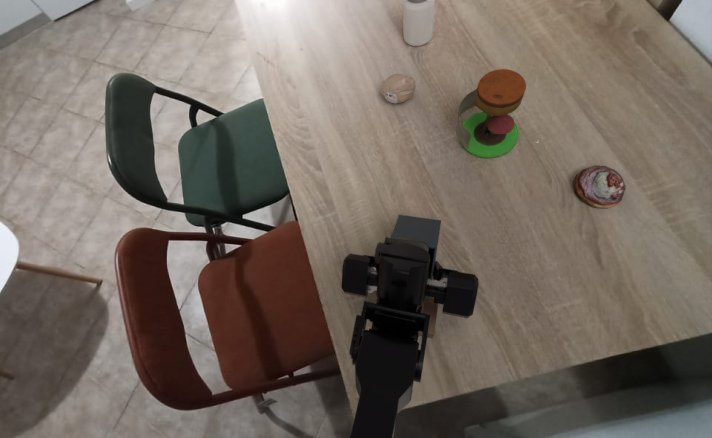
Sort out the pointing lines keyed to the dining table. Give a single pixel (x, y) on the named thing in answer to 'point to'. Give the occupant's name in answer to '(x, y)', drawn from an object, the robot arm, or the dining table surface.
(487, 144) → the toy burger
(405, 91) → the beige rounded lump
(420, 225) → the bin
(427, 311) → the metal block
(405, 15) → the can
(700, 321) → the dining table surface
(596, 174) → the pastry
